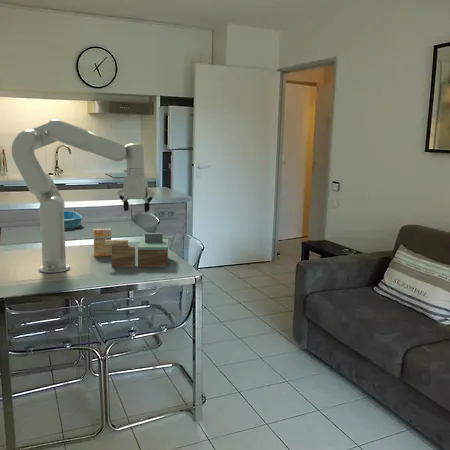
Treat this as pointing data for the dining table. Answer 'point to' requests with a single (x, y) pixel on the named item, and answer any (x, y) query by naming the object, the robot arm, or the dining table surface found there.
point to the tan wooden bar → (116, 242)
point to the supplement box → (102, 242)
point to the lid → (153, 242)
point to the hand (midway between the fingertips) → (136, 211)
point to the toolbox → (146, 258)
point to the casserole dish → (71, 219)
